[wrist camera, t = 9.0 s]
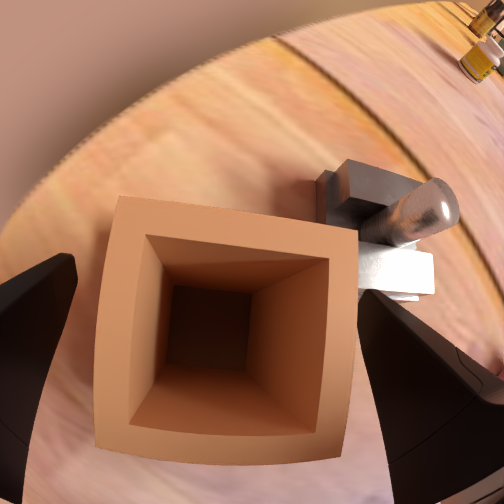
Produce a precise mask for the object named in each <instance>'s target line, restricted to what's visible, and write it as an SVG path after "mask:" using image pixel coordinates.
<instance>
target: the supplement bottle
mask: <svg viewBox="0 0 504 504" xmlns="http://www.w3.org/2000/svg"><path fill="white" fill-rule="evenodd" d="M503 56H504V51H503V49H502V48H501V47H500V46H499V45H498V44H497V43H496V42H495V41H494V39H492V38H491V37H488V38H487V39H486V42H485V43H484V42H482V41H479V42H478V43H476V44H475V45H474V47H473V48H471V49H470V50H469V51H468V52H467V53H466V54H465V55H464V56H463V57H462V58H461V59H460V60H459V61H458V64H459V66H460V68H461V70H462V71H463V72H464V73H465V74H466V76H467V77H468V78H469V79H470V80H471V81H473V82H474V83H476V84H479V83H480V82H481V81H482V80H483V79H485V78H486V77H487V76H488V75H489V74H490V73H491V72H493V71H494V70H495V69H496V68H497V67H498V66H499V65H500V61H499V58H502V57H503Z"/></svg>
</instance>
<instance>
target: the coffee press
mask: <svg viewBox="0 0 504 504" xmlns="http://www.w3.org/2000/svg"><path fill="white" fill-rule="evenodd" d="M501 1H502V2H503V3H504V0H501ZM495 2H496V0H492V1H491V2H490V3H489V4H488V5H487V6H490V5H493V4H494V3H495ZM487 6H486V7H487ZM500 16H501V17H500V20H499V21H498V22H497V23H496V24H495V25H494V26H493V27H492V28H491V30H490V31H489V32H488V33H487V34H488V35H491V34H492V37H493V35H494V37H493V38H494V39H495V38H496V35H497V33H498V34H499V35H500V36H501V37H503V38H504V35H503V34H502V33H501V32H500V31H501V30H502V29H503V28H504V10H503V11H502V13H501V15H500ZM474 18H475V17H473V19H474Z"/></svg>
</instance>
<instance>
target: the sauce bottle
mask: <svg viewBox="0 0 504 504" xmlns="http://www.w3.org/2000/svg"><path fill="white" fill-rule="evenodd" d="M503 10H504V3H503V2H502V1H501V0H496V2H495V3H494V4H493V5H490V6H487V7H485V8H484V9H483V10H482V11H481V12H480V13H479V14H478V15H477V16H476V17H475V19H474V20H473V21H472V22H471V23H470V25H469V29H470V30H471V31H472V32H473V33H474V34H475V35H476V36H477V37H479V38H482V37H484V36H485V35H486V34H487V33H488V32H489V31H490V30H491V28H492V27H493V26H494V25H495V24H496V23H497V22H498V21H499V20H500V17H501V16H500V15H501V13H502V11H503Z"/></svg>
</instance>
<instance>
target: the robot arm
mask: <svg viewBox="0 0 504 504" xmlns="http://www.w3.org/2000/svg"><path fill="white" fill-rule="evenodd" d="M77 283H78V276H77V270H76V264H75V259H74V256H73V255H72V254H67V253H59V254H57V255H55V256H53V257H51V258H49V259H47V260H45V261H43V262H42V263H40V264H38V265H36V266H34V267H32V268H30V269H28V270H26V271H25V272H23V273H21V274H19V275H17V276H15V277H14V278H12V279H10V280H8V281H6V282H5V283H3V284H1V285H0V498H2V499H4V500H7V501H9V502H11V503H14V504H22V497H23V486H24V477H25V470H26V463H27V457H28V451H29V444H30V439H31V434H32V430H33V425H34V421H35V417H36V413H37V409H38V405H39V401H40V398H41V394H42V390H43V387H44V384H45V380H46V377H47V374H48V371H49V368H50V365H51V362H52V359H53V356H54V353H55V350H56V348H57V345H58V342H59V339H60V337H61V334H62V332H63V329H64V326H65V323H66V319H67V316H68V312H69V309H70V306H71V302H72V299H73V296H74V293H75V290H76V287H77ZM357 328H358V334H359V339H360V345H361V350H362V355H363V359H364V362H365V366H366V370H367V373H368V377H369V381H370V385H371V389H372V393H373V397H374V401H375V405H376V409H377V413H378V418H379V422H380V427H381V431H382V436H383V441H384V445H385V450H386V456H387V461H388V464H389V465H388V467H389V473H390V478H391V485H392V491H393V498H394V504H436V503H438V502H440V503H441V504H504V381H503V380H501V379H500V378H499V377H497V376H496V375H494V374H493V373H491V372H490V371H489V370H487V369H486V368H484V367H483V366H482V365H480V364H479V363H477V362H476V361H475V360H473V359H472V358H470V357H469V356H468V355H467V354H465V353H464V352H463V351H461V350H460V349H459V348H457V347H455V346H454V345H453V344H452V343H451V342H449V341H448V340H447V339H445V338H444V337H443V336H441V335H440V334H439V333H437V332H436V331H435V330H433V329H432V328H431V327H429V326H428V325H427V324H425V323H424V322H423V321H421V320H420V319H418V318H417V317H416V316H414V315H413V314H412V313H410V312H409V311H407V310H406V309H405V308H403V307H402V306H401V305H399V304H398V303H396V302H395V301H394V300H392V299H391V298H389V297H388V296H386V295H385V294H384V293H382V292H381V291H379V290H378V289H370V288H368V289H366V290H365V291H364V292H363V294H362V296H361V298H360V300H359V302H358V311H357Z"/></svg>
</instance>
